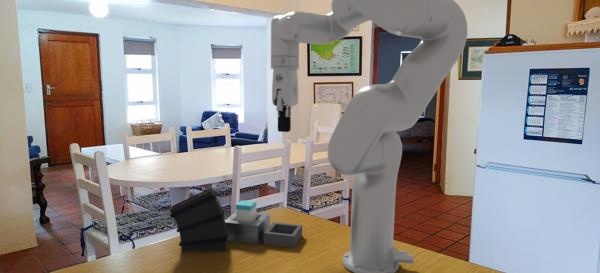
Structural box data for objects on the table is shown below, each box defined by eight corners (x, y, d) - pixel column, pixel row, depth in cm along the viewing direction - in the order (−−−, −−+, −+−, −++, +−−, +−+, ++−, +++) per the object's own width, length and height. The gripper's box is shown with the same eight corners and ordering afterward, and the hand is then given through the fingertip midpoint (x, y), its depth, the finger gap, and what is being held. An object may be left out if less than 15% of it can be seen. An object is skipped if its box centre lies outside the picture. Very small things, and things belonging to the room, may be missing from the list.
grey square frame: (302, 236, 110) (302, 225, 109) (294, 247, 102) (294, 236, 102) (273, 232, 112) (273, 222, 111) (263, 244, 104) (263, 232, 104)
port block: (269, 231, 113) (270, 213, 112) (257, 244, 104) (258, 225, 103) (237, 227, 115) (237, 210, 114) (223, 240, 106) (222, 222, 105)
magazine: (239, 245, 99) (211, 190, 97) (189, 268, 99) (160, 214, 97) (240, 238, 103) (213, 186, 101) (192, 261, 103) (164, 209, 101)
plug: (256, 233, 111) (256, 201, 110) (250, 239, 107) (250, 206, 106) (242, 232, 112) (241, 200, 111) (236, 237, 108) (235, 204, 107)
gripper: (290, 62, 103) (290, 135, 105) (304, 64, 117) (303, 128, 120) (262, 62, 105) (262, 134, 107) (279, 64, 119) (279, 127, 121)
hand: (284, 131), depth 113 cm, fingers closed
